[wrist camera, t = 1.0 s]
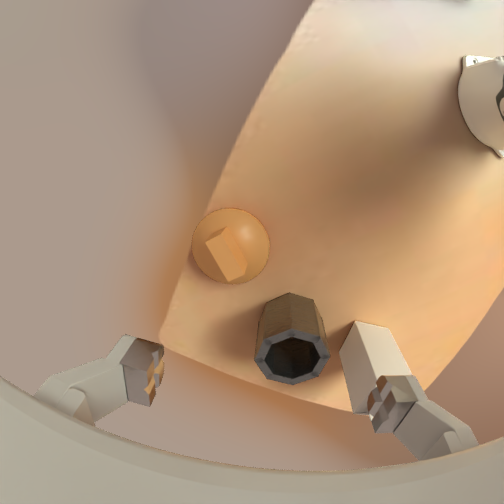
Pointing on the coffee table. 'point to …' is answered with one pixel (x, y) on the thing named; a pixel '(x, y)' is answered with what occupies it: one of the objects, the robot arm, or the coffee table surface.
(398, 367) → the milk carton
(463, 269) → the coffee table surface
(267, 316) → the graphite tube
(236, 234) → the orange cap
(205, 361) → the coffee table surface
